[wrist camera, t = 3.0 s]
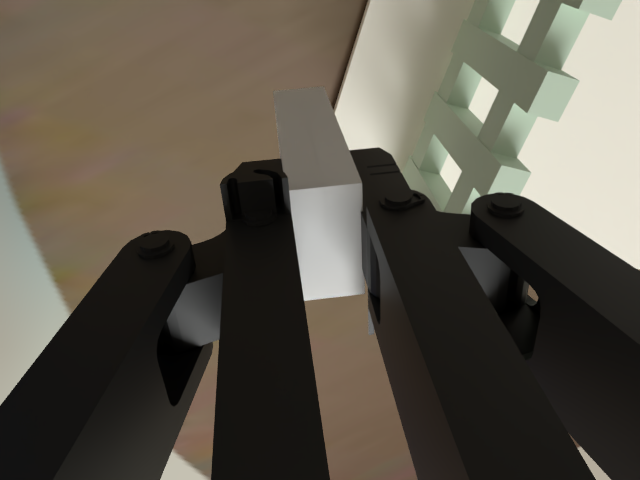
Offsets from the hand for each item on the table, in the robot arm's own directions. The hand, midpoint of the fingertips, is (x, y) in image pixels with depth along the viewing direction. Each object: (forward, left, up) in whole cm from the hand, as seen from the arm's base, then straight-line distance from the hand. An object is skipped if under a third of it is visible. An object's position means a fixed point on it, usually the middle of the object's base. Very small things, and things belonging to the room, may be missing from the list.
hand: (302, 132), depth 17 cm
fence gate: (-2, +6, -5) cm, 8 cm away
